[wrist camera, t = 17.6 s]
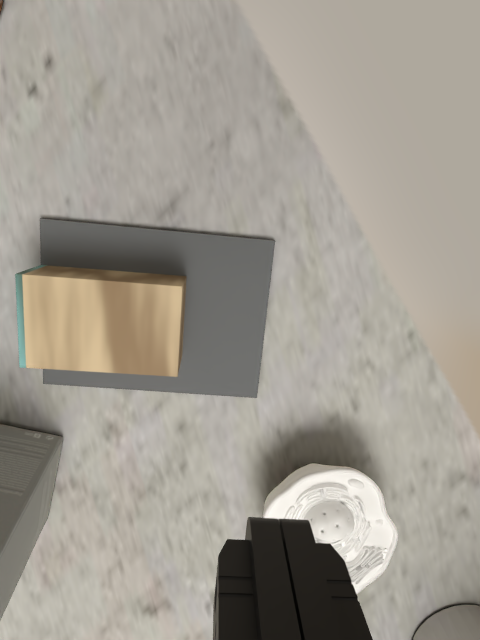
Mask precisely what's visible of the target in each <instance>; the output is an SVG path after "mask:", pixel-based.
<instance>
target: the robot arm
mask: <svg viewBox="0 0 480 640" xmlns="http://www.w3.org/2000/svg"><path fill="white" fill-rule="evenodd" d="M213 640H373V639H372V637H371V634H370V631H369V628H368V625H367V623H366V620H365V617H364V614H363V611H362V609H361V606H360V603H359V602H358V600H357V595H356V592H355V589H354V586H353V585H352V583H351V578H350V575H349V572H348V569H347V567H346V564H345V561H344V560H343V558H342V557H341V556H340V555H339V554H338V552H337V551H336V550H335V549H334V548H333V546H332V545H331V544H328V543H316V542H315V539H314V535H313V532H312V528H311V525H310V522H309V521H308V520H300V519H276V518H255V517H248V520H247V527H246V536H245V540H232V539H227V541H226V543H225V544H224V546H223V548H222V550H221V552H220V554H219V556H218V567H217V577H216V587H215V598H214V613H213ZM413 640H480V606H477V605H459V606H453V607H450V608H447V609H444V610H442V611H440V612H438V613H436V614H434V615H433V616H431V617H430V618H428V619H427V620H426V621H425V622H424V623H423V624H422V625H421V626H420V627H419V629H418V630H417V632H416V633H415V635H414V638H413Z"/></svg>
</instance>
